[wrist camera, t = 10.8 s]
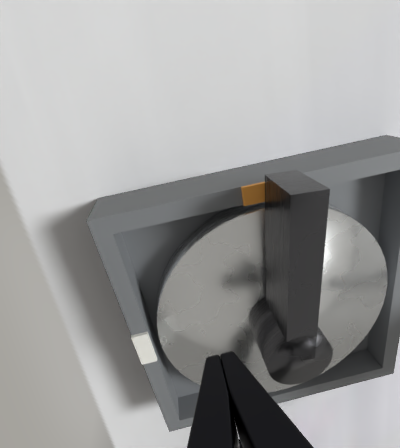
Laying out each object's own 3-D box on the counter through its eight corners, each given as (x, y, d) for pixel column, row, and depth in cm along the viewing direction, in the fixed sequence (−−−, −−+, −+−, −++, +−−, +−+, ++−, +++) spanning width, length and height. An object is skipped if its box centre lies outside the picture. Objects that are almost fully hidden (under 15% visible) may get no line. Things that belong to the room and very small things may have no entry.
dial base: (366, 340, 26) (395, 375, 23) (167, 391, 25) (169, 434, 22) (386, 135, 18) (435, 144, 15) (98, 198, 17) (85, 222, 14)
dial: (357, 355, 24) (404, 417, 19) (174, 392, 23) (179, 468, 18) (395, 143, 16) (485, 164, 12) (127, 183, 15) (116, 222, 11)
